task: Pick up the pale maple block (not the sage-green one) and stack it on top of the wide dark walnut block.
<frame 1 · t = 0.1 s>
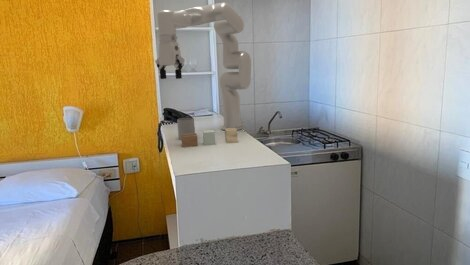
hand: (171, 78, 168), 31 cm above the table, fingers open, 9 cm apart
sage block: (209, 143, 175), on the table
maple block: (231, 141, 177), on the table
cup: (187, 138, 190), on the table
walnut block: (189, 145, 174), on the table
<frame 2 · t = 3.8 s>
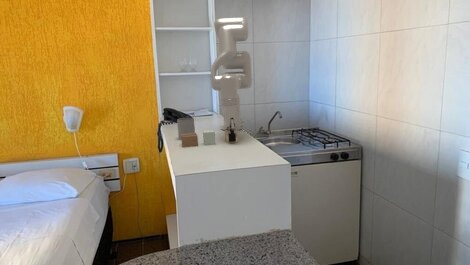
hand: (231, 139, 177), 1 cm above the table, fingers closed on maple block, 5 cm apart
maple block: (231, 141, 177), on the table, touching gripper
everything else where it was.
when the fingers open (7 cm above the table, at t = 8.4 s): maple block drops 1 cm, resting on walnut block.
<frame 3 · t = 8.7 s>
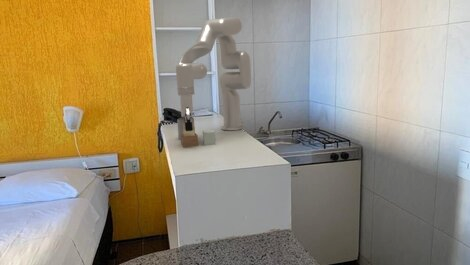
hand: (188, 128, 173), 8 cm above the table, fingers open, 8 cm apart
maple block: (189, 135, 173), point 5 cm above the table, touching walnut block
walnut block: (189, 145, 174), on the table, touching maple block
everything else where it was.
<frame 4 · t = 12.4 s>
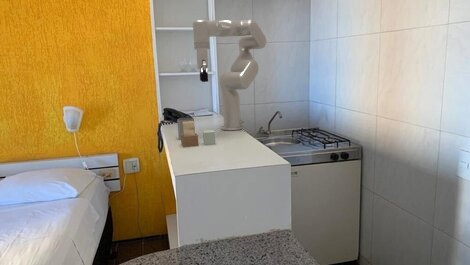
hand: (204, 81, 186), 28 cm above the table, fingers open, 9 cm apart
nothing on the table moved.
at the end: maple block 0.2 cm off-centre on the walnut block, point 5.0 cm above the walnut block's base; maple block tilted 0°; the gripper is holding nothing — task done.
